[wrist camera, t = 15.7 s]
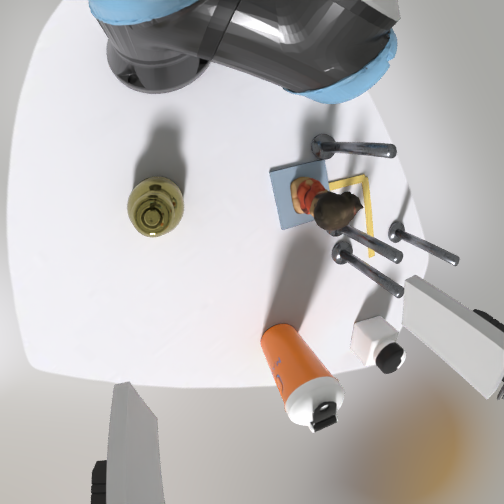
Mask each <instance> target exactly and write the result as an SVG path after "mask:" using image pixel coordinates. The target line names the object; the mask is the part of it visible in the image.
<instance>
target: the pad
mask: <svg viewBox="0 0 504 504" xmlns="http://www.w3.org/2000/svg"><path fill="white" fill-rule="evenodd" d="M269 174H270V178H271V182H272V187H273V192H274V196H275V201H276V205H277V210H278V215H279V220H280V224H281V229H282V230H285V229H288V228H291V227H294V226H297V225H301V224H304V223H307V222H310V221H313V220H315V219H314V217H313V216H312V215H311V214H305V213H304V214H297V213H296V212H295V210H294V207H293V203H292V198H291V191H290V185H291V183H292V181H293V180H295V179H297V178H299V177H310V178H313V179H315V180H318V181H320V182H321V184H322V185H323V186H324V188H325V189H327V190H328V191H330V189H329V183H328V177H327V171H326V165H325V160H319V161H314V162H310V163H306V164H301V165H297V166H293V167H289V168H285V169H281V170H277V171H273V172H269Z"/></svg>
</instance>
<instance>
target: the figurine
mask: <svg viewBox="0 0 504 504" xmlns="http://www.w3.org/2000/svg"><path fill="white" fill-rule="evenodd" d="M290 191H291V198H292V203H293V207H294V210H295V212H296V213H297V214H304V213H305V214H311V215H312V216H313V217H314V219H315V221H316V223H317V225H318V226H319V227H321V228H323V229H325V230H329V231H335V230H339V229H341V228H343V227H345V226H346V225H348V224H349V223H350V221H351V220H352V219H353V218H354V216H355V215H356V213H357V212H358V211H359V210H360V209H361V208H364V207H363V206H362V205H361V203H360V200H359V198H358V197H357V196H355V195H354V194H351V192H344V193H342V194H341V195H340V194H335V193H333V192H330V191H328V190H327V189H325V188H324V186H323V185H322V184H321V182H320V181H318V180H315V179H313V178H310V177H299V178H297V179H295V180H293V181H292V183H291V185H290Z"/></svg>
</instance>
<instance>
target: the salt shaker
mask: <svg viewBox="0 0 504 504" xmlns="http://www.w3.org/2000/svg"><path fill="white" fill-rule="evenodd" d="M127 211H128V216H129V219H130V221H131V222H132V224H133V225H134V227H135V228H136V230H137V231H138V232H139V233H141V234H142V235H144V236H147V237H158V236H161V235H164V234H167V233H169V232H170V231H172V230H173V229H174V228H175V227H176V226H177V225H178V224H179V222H180V221H181V219H182V216H183V213H184V201H183V196H182V193H181V191H180V189H179V187H178V186H177V185H176V184H175V183H174V182H173V181H172V180H170V179H168V178H166V177H161V176H154V177H150V178H147V179H145V180H143V181H142V182H140V183H139V184H138V185H137V186H136V187H135V188H134V189H133V191H132V192H131V194H130V196H129V199H128V203H127Z"/></svg>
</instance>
